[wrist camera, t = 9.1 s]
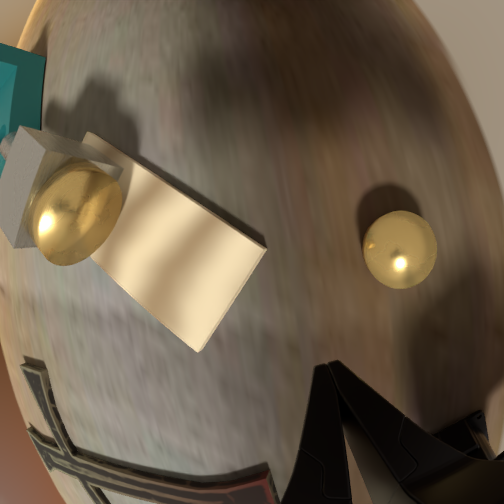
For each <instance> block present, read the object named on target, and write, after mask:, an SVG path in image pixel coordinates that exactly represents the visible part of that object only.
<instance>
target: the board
mask: <svg viewBox="0 0 504 504" xmlns="http://www.w3.org/2000/svg"><path fill="white" fill-rule="evenodd" d="M82 143H86V144H89V145H91V146H92V147H94V148H95V149H97V150H98V151H100V152H101V153H102V154H104V155H105V156H107V157H108V158H109V159H111V160H112V161H114V162H115V163H116V164H118V165H119V166H121V167H122V168H124V170H123V172H122V174H121V176H120V178H119V180H118V182H117V183H118V184H119V186H120V189H121V192H122V207H121V211H120V215H119V218H118V220H117V223H116V225H115V227H114V229H113V230H112V232H111V234H110V235H109V237H108V238H107V239H106V241H105V242H104V243H103V244H102V245H101V246H100V247H99V248H98V249H97V250H96V251H95V252H94V253H93V254H91V255H90V257H91V258H92V259H93V260H94V261H95V262H96V263H97V264H98V265H99V266H100V267H101V268H102V269H103V270H104V271H105V272H106V273H107V274H108V275H109V276H110V277H111V278H112V279H114V280H115V281H116V282H117V283H118V284H119V285H120V286H121V287H122V288H123V289H124V290H125V291H126V292H127V293H128V294H129V295H131V296H132V297H133V298H134V299H135V300H136V301H137V302H138V303H139V304H140V305H142V306H143V307H144V308H145V309H146V310H147V311H148V312H150V313H151V314H152V315H153V316H154V317H155V318H156V319H158V320H159V321H160V322H161V323H162V324H163V325H165V326H166V327H167V328H168V329H169V330H171V331H172V332H173V333H174V334H175V335H177V336H178V337H179V338H180V339H181V340H183V341H184V342H185V343H186V344H188V345H189V346H190V347H191V348H193V349H194V350H195V351H196V352H199V351H201V350H202V349H203V348H204V346H205V345H206V343H207V342H208V340H209V339H210V337H211V335H212V334H213V332H214V331H215V329H216V328H217V326H218V325H219V323H220V322H221V320H222V319H223V317H224V315H225V314H226V312H227V311H228V309H229V308H230V306H231V305H232V303H233V302H234V300H235V298H236V297H237V295H238V294H239V292H240V291H241V289H242V288H243V286H244V284H245V283H246V281H247V280H248V278H249V277H250V275H251V274H252V272H253V270H254V269H255V267H256V266H257V264H258V263H259V261H260V259H261V258H262V256H263V255H264V253H265V252H266V250H267V249H266V248H265V247H263V246H262V245H260V244H259V243H257V242H256V241H255V240H253V239H252V238H250V237H249V236H247V235H246V234H244V233H243V232H241V231H240V230H238V229H237V228H235V227H234V226H232V225H231V224H229V223H228V222H226V221H225V220H223V219H222V218H220V217H219V216H218V215H216V214H215V213H213V212H212V211H210V210H209V209H207V208H206V207H204V206H203V205H201V204H200V203H198V202H197V201H195V200H194V199H192V198H191V197H189V196H188V195H186V194H185V193H183V192H182V191H180V190H179V189H177V188H176V187H174V186H173V185H171V184H170V183H168V182H167V181H165V180H164V179H162V178H161V177H159V176H158V175H156V174H155V173H153V172H152V171H150V170H149V169H147V168H146V167H144V166H143V165H141V164H140V163H138V162H137V161H135V160H133V159H132V158H130V157H129V156H127V155H126V154H124V153H123V152H121V151H120V150H118V149H117V148H115V147H114V146H112V145H111V144H109V143H108V142H106V141H105V140H103V139H101V138H100V137H98V136H97V135H95V134H94V133H91V132H88V131H87V133H86V135H85V137H84V139H83V141H82Z"/></svg>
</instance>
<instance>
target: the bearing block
mask: <svg viewBox="0 0 504 504" xmlns="http://www.w3.org/2000/svg"><path fill="white" fill-rule="evenodd" d="M79 162H87V163H92V164H95V165H96V166H98V167H99V168H101V169H102V170H103V171H105V172H106V173H107V174H109V175H110V176H111V177H113V178H114V179H115V180H116V181H117V182H118V180H119V178H120V176H121V174H122V172H123V170H124V168H122V167H121V166H119V165H118V164H116V163H115V162H114V161H112V160H111V159H109V158H108V157H107V156H105V155H104V154H102V153H101V152H100V151H98V150H97V149H95V148H94V147H92V146H91V145H89V144H86V143H82V142H79V141H76V140H72V139H69V138H65V137H62V136H58V135H55V134H51V133H47V132H44V131H40V130H36V129H32V128H29V127H25V126H21V125H20V126H19V128H18V131H17V133H16V136H15V138H14V141H13V143H12V146H11V149H10V151H9V154H8V157H7V160H6V163H5V166H4V169H3V172H2V175H1V178H0V227H1V229H2V230H3V232H4V234H5V235H6V237H7V239H8V240H9V242H10V243H11V245H12V247H13V248H30V247H37V246H36V244H35V243H34V242H33V240H32V238H31V236H30V233H29V228H28V218H29V212H30V208H31V205H32V202H33V200H34V198H35V196H36V194H37V192H38V191H39V189H40V188H41V186H42V185H43V184H44V183H45V182H46V181H47V180H48V179H49V178H50V177H51V176H52V175H53V174H54V173H56V172H57V171H59V170H60V169H62V168H64V167H66V166H68V165H71V164H74V163H79Z"/></svg>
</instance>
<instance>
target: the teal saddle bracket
mask: <svg viewBox="0 0 504 504" xmlns="http://www.w3.org/2000/svg"><path fill="white" fill-rule="evenodd" d="M45 59H46V58H45V57H42V56H40V55H37V54H34V53H31V52H28V51H25V50H22V49H18V48H15V47H12V46H8V45H5V44H2V43H0V144H1V142H2V140H3V138H4V137H5V136H6V135H7V134H9V133H11V132H17V131H18V128H19V126H20V125H21V126H25V127H29V128H32V129H36V130H40V112H41V96H42V84H43V74H44V66H45ZM5 163H6V160H5V159H4V158H3V156H2V155H1V153H0V178H1V175H2V172H3V169H4V166H5Z"/></svg>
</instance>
